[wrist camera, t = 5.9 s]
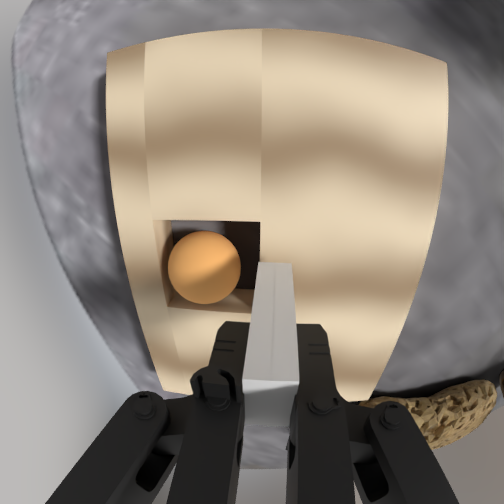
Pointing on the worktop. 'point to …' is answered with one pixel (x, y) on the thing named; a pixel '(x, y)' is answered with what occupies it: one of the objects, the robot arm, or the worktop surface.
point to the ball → (204, 267)
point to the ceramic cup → (502, 382)
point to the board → (279, 181)
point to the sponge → (448, 410)
